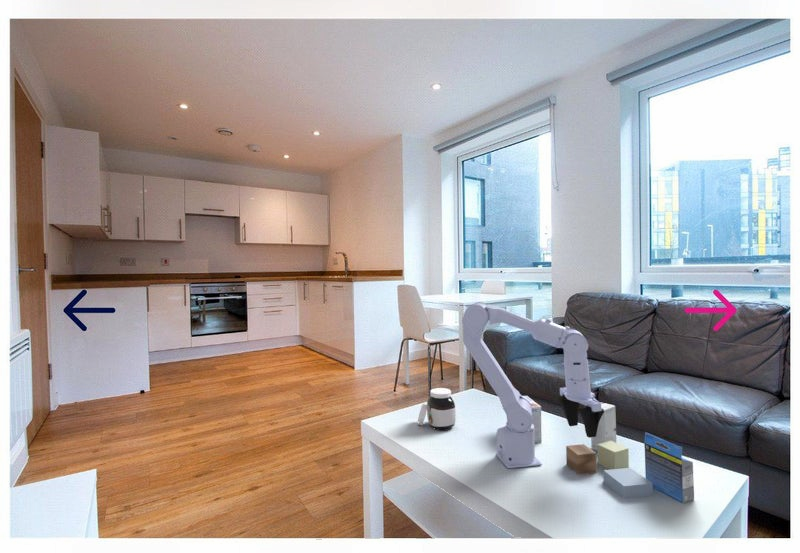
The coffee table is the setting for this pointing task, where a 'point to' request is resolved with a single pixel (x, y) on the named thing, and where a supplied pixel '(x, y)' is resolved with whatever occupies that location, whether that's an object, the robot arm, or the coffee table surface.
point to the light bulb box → (536, 419)
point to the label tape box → (668, 469)
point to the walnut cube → (581, 459)
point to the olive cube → (613, 455)
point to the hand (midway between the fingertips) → (582, 430)
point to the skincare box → (605, 426)
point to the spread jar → (439, 409)
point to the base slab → (628, 482)
